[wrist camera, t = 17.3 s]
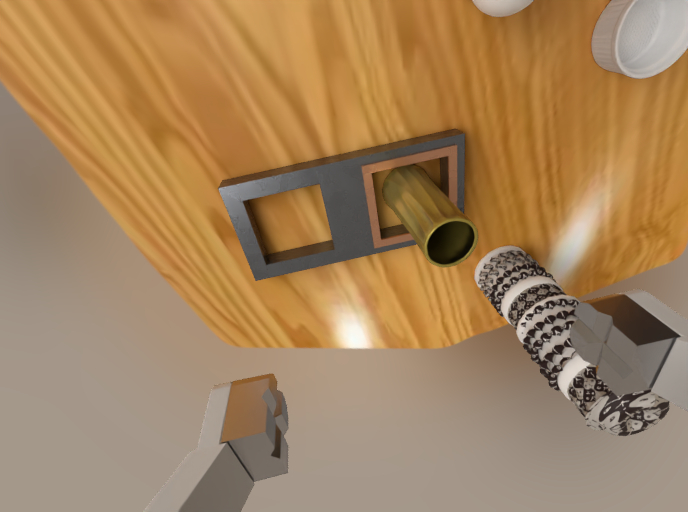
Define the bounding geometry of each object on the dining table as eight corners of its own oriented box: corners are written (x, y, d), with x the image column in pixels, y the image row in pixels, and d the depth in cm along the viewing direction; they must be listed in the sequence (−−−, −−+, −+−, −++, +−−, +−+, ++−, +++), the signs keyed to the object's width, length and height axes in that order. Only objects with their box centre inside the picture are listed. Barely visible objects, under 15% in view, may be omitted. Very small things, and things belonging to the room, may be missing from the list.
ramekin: (578, 12, 36) (610, 9, 32) (664, -45, 34) (709, -55, 31) (591, 91, 40) (621, 96, 37) (668, 44, 39) (707, 45, 35)
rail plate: (222, 180, 40) (217, 189, 38) (455, 128, 40) (465, 134, 38) (257, 270, 47) (255, 282, 45) (456, 225, 48) (464, 234, 45)
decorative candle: (480, 242, 50) (620, 391, 29) (538, 242, 51) (712, 384, 30) (464, 293, 54) (574, 452, 33) (518, 292, 56) (655, 443, 35)
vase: (394, 218, 46) (433, 281, 34) (373, 181, 42) (408, 236, 31) (435, 194, 45) (491, 250, 33) (417, 154, 41) (471, 200, 30)
